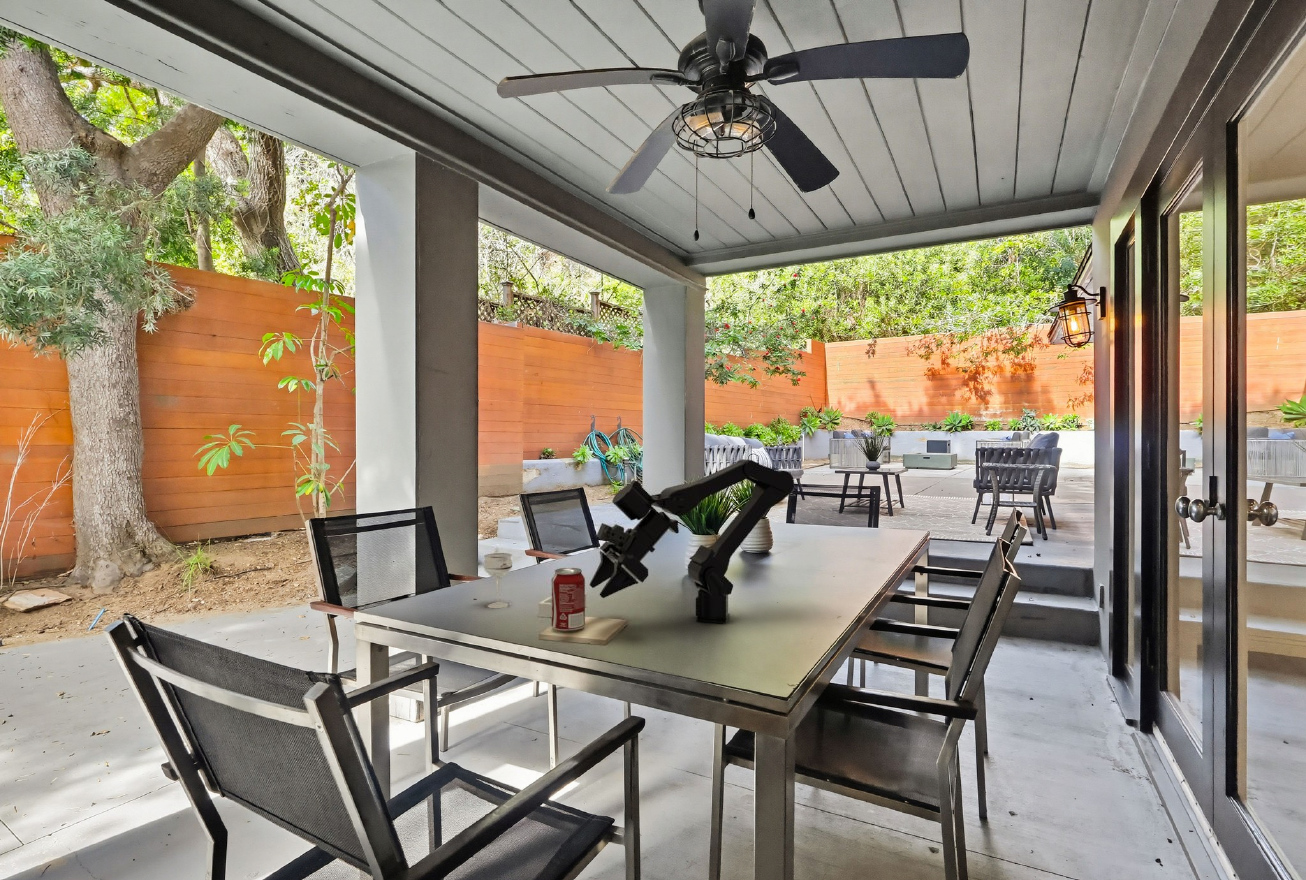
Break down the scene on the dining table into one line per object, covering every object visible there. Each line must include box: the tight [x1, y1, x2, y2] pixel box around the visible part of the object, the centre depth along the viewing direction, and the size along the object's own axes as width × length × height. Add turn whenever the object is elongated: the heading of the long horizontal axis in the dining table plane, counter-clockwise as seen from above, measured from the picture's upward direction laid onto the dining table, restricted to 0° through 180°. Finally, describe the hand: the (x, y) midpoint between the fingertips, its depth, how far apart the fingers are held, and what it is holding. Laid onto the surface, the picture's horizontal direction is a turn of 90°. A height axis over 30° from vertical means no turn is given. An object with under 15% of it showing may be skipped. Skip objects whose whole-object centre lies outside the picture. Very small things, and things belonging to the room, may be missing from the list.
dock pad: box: [538, 616, 629, 646], centre depth 131 cm, size 14×14×1 cm
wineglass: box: [483, 552, 513, 609], centre depth 152 cm, size 7×7×12 cm
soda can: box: [551, 567, 586, 632], centre depth 129 cm, size 7×7×12 cm
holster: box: [537, 593, 587, 619], centre depth 146 cm, size 7×11×3 cm
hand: (595, 591), depth 131 cm, fingers open, 9 cm apart
